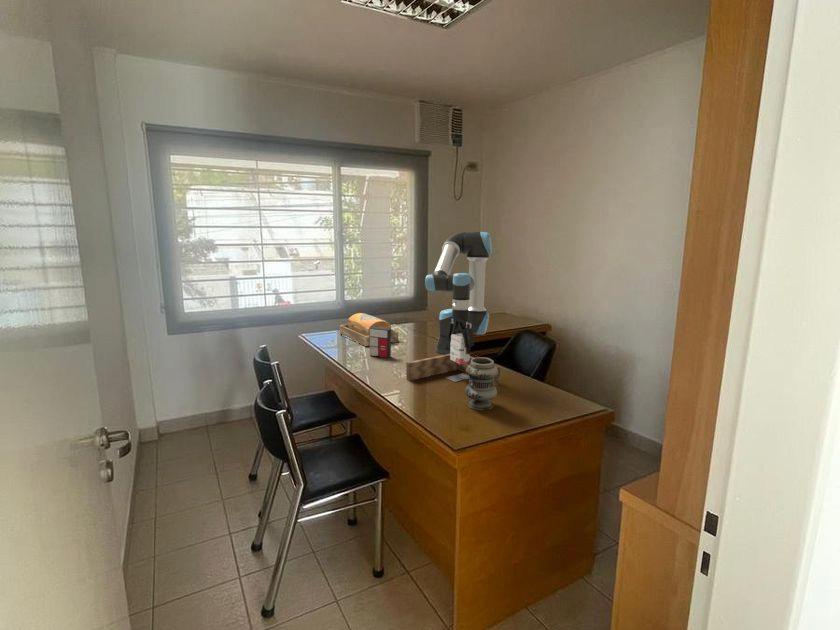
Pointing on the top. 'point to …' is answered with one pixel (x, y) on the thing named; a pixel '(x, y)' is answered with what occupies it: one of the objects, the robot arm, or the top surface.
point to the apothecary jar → (481, 383)
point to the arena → (440, 368)
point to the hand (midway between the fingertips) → (459, 358)
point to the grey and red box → (380, 342)
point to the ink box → (457, 349)
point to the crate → (362, 338)
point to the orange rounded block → (365, 323)
